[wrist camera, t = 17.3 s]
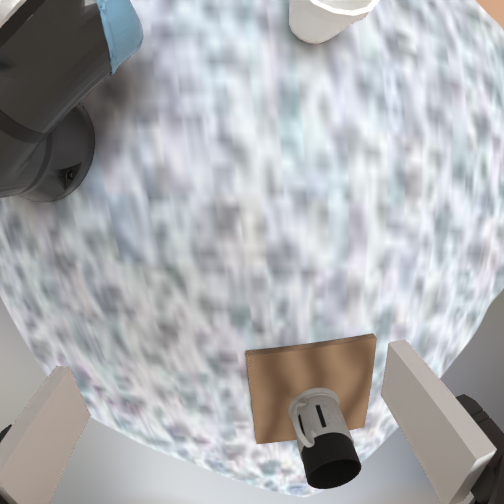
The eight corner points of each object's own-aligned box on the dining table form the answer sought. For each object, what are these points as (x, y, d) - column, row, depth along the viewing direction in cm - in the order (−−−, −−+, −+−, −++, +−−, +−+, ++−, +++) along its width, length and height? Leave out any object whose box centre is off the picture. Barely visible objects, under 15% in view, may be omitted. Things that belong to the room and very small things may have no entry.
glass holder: (303, 431, 50) (319, 497, 36) (259, 385, 47) (267, 457, 33) (347, 408, 50) (374, 471, 35) (308, 356, 46) (333, 425, 32)
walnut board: (256, 438, 52) (256, 444, 51) (245, 350, 47) (246, 356, 46) (361, 421, 53) (364, 426, 51) (373, 333, 47) (376, 338, 46)
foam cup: (340, 61, 37) (377, 27, 24) (272, 45, 36) (287, 1, 24) (346, 8, 35) (380, -35, 22) (283, -8, 34) (299, -59, 21)
